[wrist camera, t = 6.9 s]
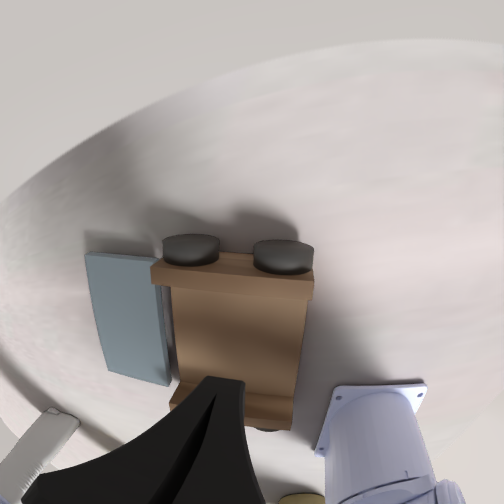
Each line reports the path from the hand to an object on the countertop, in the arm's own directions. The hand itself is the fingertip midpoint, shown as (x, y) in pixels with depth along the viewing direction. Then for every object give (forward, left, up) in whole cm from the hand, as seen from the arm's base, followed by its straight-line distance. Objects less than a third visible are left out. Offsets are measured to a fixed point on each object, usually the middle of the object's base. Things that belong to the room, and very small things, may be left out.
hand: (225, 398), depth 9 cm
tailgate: (-3, +6, -8) cm, 11 cm away
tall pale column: (-23, +26, -10) cm, 36 cm away
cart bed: (-3, +1, -9) cm, 10 cm away
